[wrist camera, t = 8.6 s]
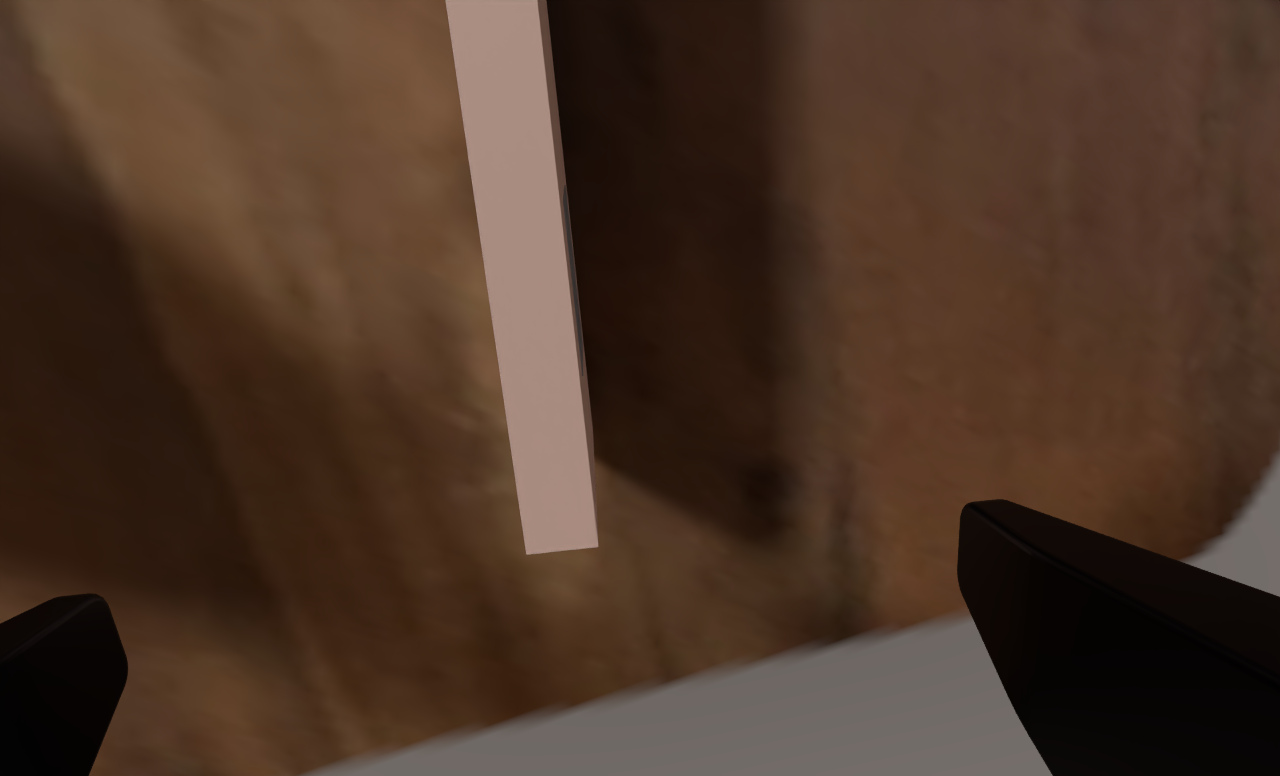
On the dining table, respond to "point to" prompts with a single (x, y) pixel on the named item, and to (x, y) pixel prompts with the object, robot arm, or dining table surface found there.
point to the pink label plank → (528, 262)
